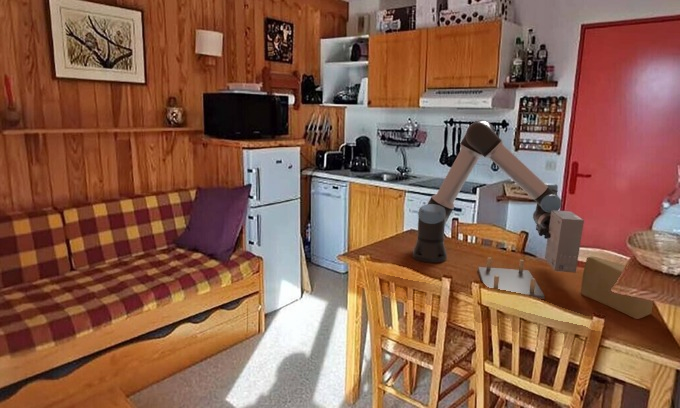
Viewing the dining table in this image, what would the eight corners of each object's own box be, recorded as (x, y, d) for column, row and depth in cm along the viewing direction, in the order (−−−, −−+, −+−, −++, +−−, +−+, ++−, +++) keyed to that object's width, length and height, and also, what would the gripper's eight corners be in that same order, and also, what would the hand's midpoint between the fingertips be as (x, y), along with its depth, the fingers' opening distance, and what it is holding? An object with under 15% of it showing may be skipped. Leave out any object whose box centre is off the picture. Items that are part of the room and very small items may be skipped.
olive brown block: (572, 296, 166) (578, 256, 162) (589, 291, 170) (594, 252, 167) (636, 320, 147) (643, 277, 144) (652, 314, 152) (659, 272, 148)
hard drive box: (576, 273, 165) (584, 220, 160) (554, 271, 166) (561, 219, 162) (564, 259, 180) (571, 210, 175) (543, 257, 181) (550, 209, 177)
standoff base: (485, 294, 165) (487, 278, 164) (478, 270, 190) (479, 255, 189) (544, 299, 162) (546, 282, 160) (528, 273, 187) (530, 258, 185)
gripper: (574, 234, 189) (594, 251, 167) (523, 230, 192) (535, 247, 170) (577, 217, 187) (597, 232, 165) (525, 213, 191) (537, 227, 169)
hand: (565, 239), depth 168 cm, fingers closed on hard drive box, 7 cm apart
